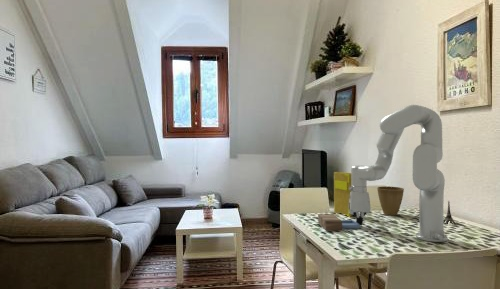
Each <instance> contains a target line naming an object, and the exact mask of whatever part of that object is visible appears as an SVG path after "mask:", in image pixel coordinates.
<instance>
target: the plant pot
mask: <svg viewBox="0 0 500 289" xmlns="http://www.w3.org/2000/svg"><path fill="white" fill-rule="evenodd" d="M376 189H377V194H378V199H379V204H380V207H381V210H382V212H383V215H384V216H385V215H386V216H390V217H391V216H393V217H394V216H397V215H398V214H399V211H400V208H401V206H402V205H401V204H402V202H403V196H404V192H405V188H404V187H398V186H387V185H385V186H377V188H376Z"/></svg>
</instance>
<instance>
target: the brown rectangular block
mask: <svg viewBox="0 0 500 289" xmlns="http://www.w3.org/2000/svg"><path fill="white" fill-rule="evenodd" d="M317 215H318V216H317V220H318V224H319V226H321V227H322V228H323V229H324V231H326V232H327V231H328V232H331V231H335V232H336V231H338V232H339V231H343V229H342V221H341V220H342V219H340V218H339V217H337V216H336V215H335V214H333V213H332V214H331V213H329V214H328V213H323V214H321V213H319V214H317Z"/></svg>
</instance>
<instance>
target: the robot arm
mask: <svg viewBox="0 0 500 289" xmlns="http://www.w3.org/2000/svg"><path fill="white" fill-rule="evenodd" d="M412 125H413V126H414V125H419V126H420V127H421V131H420V144H419V145H417V146H416V147H415V148H414V150H413V154H412V182H413V185H414V186H415V188H417V189H418V190H419V198H418V199H419V200H418V201H419V204H418V206H419V210H418V211H419V214H418V215H419V218H418V219H419V232H418V233H416V234H415V237H416V239H419V240H421V241H427V242H431V243H432V242H433V243H442V242H447V241H449V237H448V236H447V235H445V230H444V228H445V227H444V226H445V224H444V219H445V217H444V193H445V182H446V179H445V176H444V174H443V172H442V171H441V170H440V169H439V168H438V164H439V163H440V162H441V160H443V156H444V155H443V121H442V119H441V117H440V115H439V114H438V113H437V112H436V111H435V110H433V109H431V108H429V107H426V106H422V105H419V104H411V105H408V106H407V105H406V106H404V107H402V108H400V109H398V110H396V111H394V112H392V113H390V114H389V115H386V116H384V117H383V118H382V119H381V120H380V123H379V129H380V131H381V134H380V136H379V138H378V140H377V143H376V149H377V151H378V155H377V158H376V160H375V163H374V165H368V166H367V165H366V166H365V165H352V166H351V169H350V173H351V187H349V190H351V192H350V196H349V213H350V214H354V215H355V216H354V217H355V222H357V223H358V224H360V227H362V226H363V224H364V217H365V216H366V215H369V214H371V209H372V208H371V207H372V206H371V199H370V193H369V192H368V191H367V188H368V187H367V185H368V184H367V181H368V182H375V181H379V180H382V179H384V178H385V177H386V175H387V173H388V172H389V169H390V167H391V165H392V163H393V157H394V153H395V152H394V151H395V150H396V146H397V145H398V143H399V141H400V139H401V136H402V135H403V133H404V130H405V128H407V127H410V126H412Z"/></svg>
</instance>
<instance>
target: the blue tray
mask: <svg viewBox="0 0 500 289" xmlns="http://www.w3.org/2000/svg"><path fill="white" fill-rule="evenodd" d="M340 220H341V221H342V230H361V225H360V224H358V223H357V222H356V220H353V219H345V220H344V219H340Z"/></svg>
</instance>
